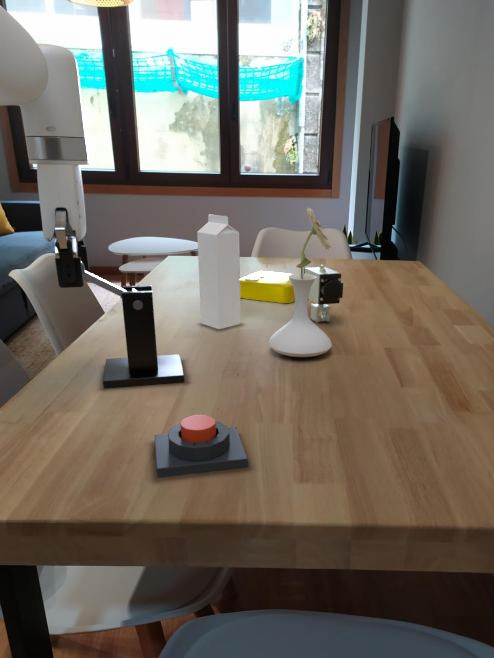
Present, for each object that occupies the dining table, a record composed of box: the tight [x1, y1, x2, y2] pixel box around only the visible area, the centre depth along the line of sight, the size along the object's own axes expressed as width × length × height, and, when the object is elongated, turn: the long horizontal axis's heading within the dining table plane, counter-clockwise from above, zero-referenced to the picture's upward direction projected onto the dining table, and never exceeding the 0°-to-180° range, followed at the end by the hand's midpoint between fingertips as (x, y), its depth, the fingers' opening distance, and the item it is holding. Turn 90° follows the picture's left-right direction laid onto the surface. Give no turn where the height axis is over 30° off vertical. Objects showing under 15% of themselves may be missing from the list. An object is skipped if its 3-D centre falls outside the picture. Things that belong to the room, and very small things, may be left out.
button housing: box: [154, 420, 249, 479], centre depth 63 cm, size 10×8×3 cm
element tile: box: [240, 270, 295, 304], centre depth 139 cm, size 15×15×5 cm
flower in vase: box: [268, 206, 333, 358], centre depth 95 cm, size 13×11×25 cm
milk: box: [196, 213, 241, 330], centre depth 110 cm, size 6×6×22 cm
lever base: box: [102, 284, 185, 389], centre depth 85 cm, size 12×10×14 cm
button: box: [180, 414, 217, 443], centre depth 63 cm, size 4×4×2 cm
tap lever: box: [81, 262, 138, 298], centre depth 81 cm, size 13×3×3 cm, turn 104°
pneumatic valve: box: [303, 264, 344, 324], centre depth 116 cm, size 6×12×12 cm, turn 21°
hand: (75, 279), depth 79 cm, fingers open, 9 cm apart
